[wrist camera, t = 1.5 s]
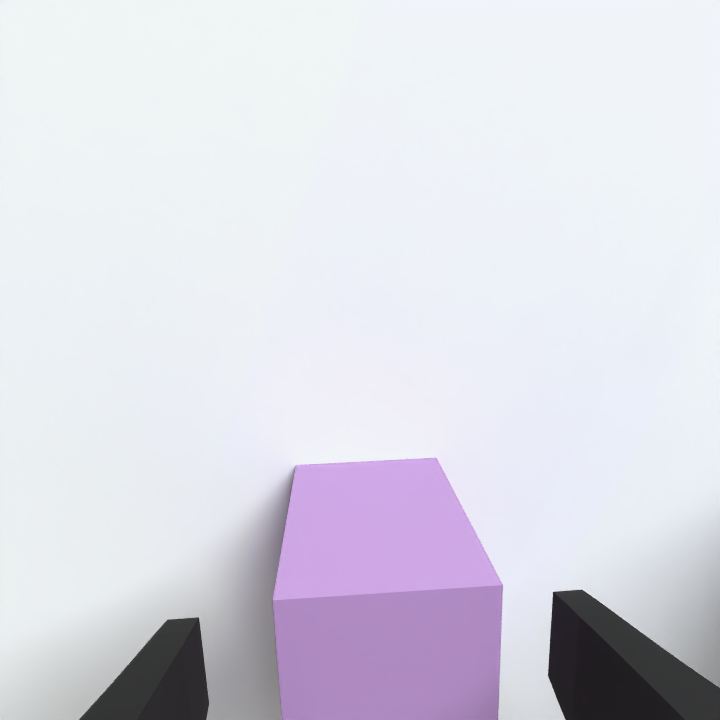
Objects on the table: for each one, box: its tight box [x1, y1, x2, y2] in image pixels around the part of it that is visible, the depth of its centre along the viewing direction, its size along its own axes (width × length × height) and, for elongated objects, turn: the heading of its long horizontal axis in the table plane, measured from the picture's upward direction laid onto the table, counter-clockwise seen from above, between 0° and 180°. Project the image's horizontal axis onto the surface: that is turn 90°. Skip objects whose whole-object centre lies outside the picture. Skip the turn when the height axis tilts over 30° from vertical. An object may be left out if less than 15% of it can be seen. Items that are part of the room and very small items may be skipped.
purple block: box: [273, 458, 503, 720], centre depth 11 cm, size 4×4×6 cm
